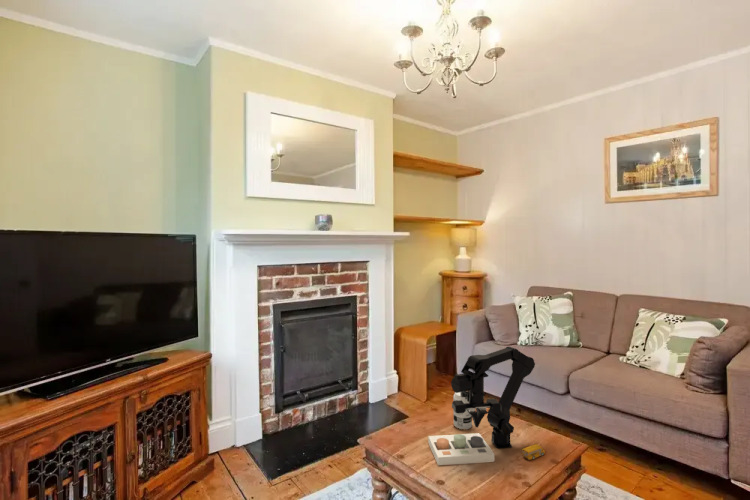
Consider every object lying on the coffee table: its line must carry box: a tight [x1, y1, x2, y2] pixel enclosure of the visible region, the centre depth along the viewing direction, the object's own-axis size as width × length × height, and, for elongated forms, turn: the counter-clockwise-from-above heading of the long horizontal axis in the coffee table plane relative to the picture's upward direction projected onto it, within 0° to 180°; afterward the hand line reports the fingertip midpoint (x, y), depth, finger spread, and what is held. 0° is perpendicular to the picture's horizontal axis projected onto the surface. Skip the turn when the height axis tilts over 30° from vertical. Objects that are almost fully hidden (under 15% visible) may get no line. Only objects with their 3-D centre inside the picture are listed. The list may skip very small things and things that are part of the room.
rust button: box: [437, 438, 449, 450], centre depth 153 cm, size 5×5×3 cm
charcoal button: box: [471, 436, 484, 448], centre depth 155 cm, size 5×5×3 cm
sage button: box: [453, 433, 466, 449], centre depth 154 cm, size 5×5×3 cm
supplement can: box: [452, 392, 473, 430], centre depth 175 cm, size 8×8×15 cm
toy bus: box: [521, 443, 546, 461], centre depth 151 cm, size 3×10×4 cm, turn 118°
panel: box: [427, 432, 495, 466], centre depth 154 cm, size 22×16×3 cm
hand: (476, 426), depth 154 cm, fingers closed
